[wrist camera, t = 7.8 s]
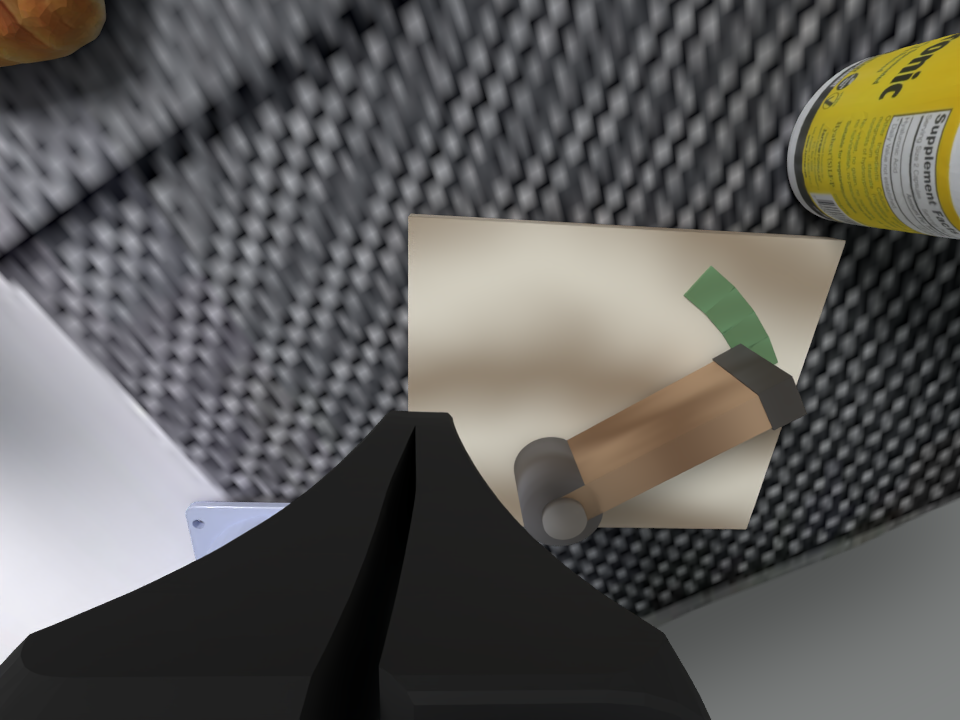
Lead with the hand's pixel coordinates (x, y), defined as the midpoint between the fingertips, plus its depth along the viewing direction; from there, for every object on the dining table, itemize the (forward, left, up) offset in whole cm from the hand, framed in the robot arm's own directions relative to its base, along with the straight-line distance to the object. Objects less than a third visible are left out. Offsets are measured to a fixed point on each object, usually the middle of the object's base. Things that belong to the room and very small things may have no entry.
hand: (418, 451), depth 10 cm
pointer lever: (-4, -8, -8) cm, 12 cm away
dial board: (-3, -7, -9) cm, 12 cm away
